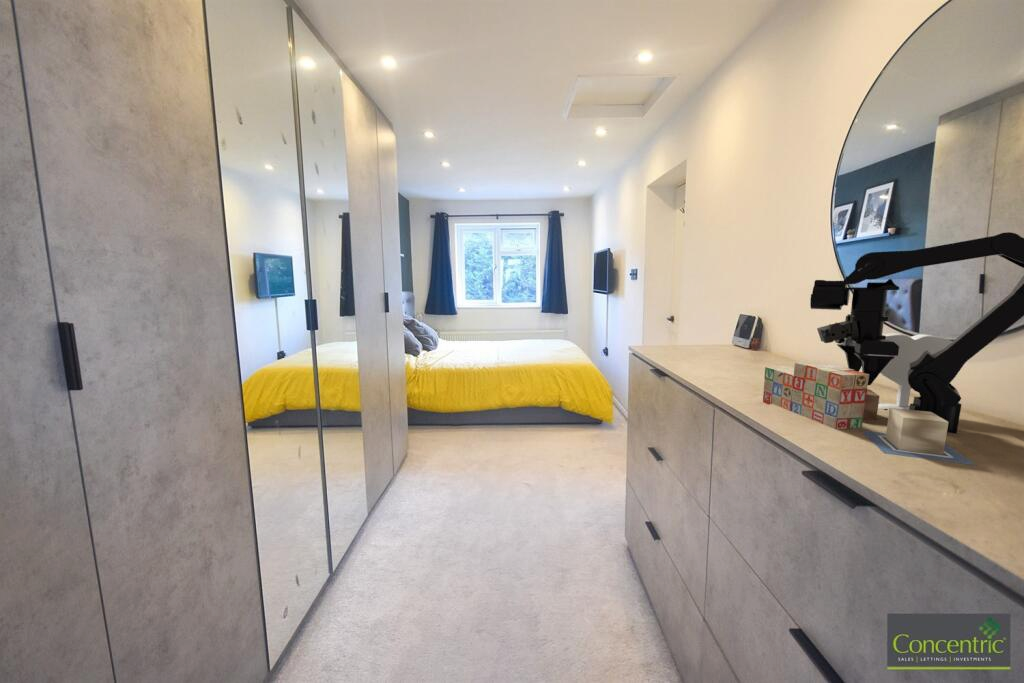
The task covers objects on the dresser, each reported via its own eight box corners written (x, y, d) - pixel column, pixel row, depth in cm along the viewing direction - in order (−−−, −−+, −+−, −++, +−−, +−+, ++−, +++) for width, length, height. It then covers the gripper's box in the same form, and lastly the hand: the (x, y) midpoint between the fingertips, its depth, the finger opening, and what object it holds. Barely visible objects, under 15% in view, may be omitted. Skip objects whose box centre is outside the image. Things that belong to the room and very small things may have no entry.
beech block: (926, 442, 78) (931, 411, 77) (943, 455, 73) (948, 422, 72) (885, 437, 81) (889, 407, 80) (898, 449, 75) (903, 417, 74)
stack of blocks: (761, 402, 106) (765, 354, 105) (784, 401, 107) (788, 354, 105) (835, 432, 85) (842, 373, 84) (862, 431, 86) (870, 373, 84)
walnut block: (866, 414, 97) (869, 389, 96) (875, 422, 91) (879, 395, 90) (834, 411, 99) (837, 386, 98) (842, 418, 94) (845, 392, 93)
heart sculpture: (938, 409, 100) (950, 335, 97) (950, 416, 95) (962, 337, 93) (857, 402, 106) (866, 331, 103) (865, 407, 101) (874, 334, 99)
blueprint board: (938, 442, 80) (939, 439, 80) (976, 468, 69) (977, 464, 69) (860, 433, 85) (860, 430, 84) (883, 456, 74) (884, 452, 74)
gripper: (813, 307, 103) (807, 369, 106) (835, 313, 87) (827, 386, 89) (869, 308, 99) (862, 373, 101) (904, 314, 82) (894, 391, 84)
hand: (859, 380), depth 94 cm, fingers open, 9 cm apart
